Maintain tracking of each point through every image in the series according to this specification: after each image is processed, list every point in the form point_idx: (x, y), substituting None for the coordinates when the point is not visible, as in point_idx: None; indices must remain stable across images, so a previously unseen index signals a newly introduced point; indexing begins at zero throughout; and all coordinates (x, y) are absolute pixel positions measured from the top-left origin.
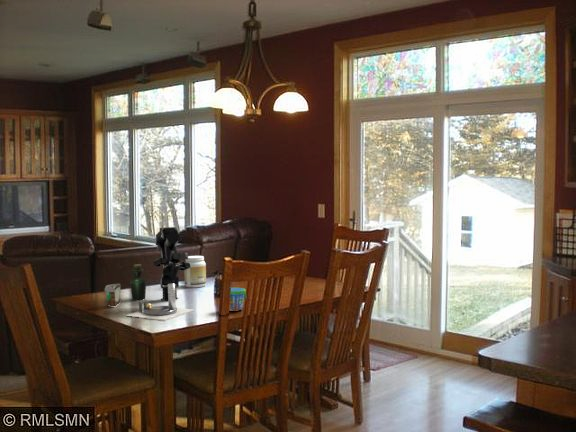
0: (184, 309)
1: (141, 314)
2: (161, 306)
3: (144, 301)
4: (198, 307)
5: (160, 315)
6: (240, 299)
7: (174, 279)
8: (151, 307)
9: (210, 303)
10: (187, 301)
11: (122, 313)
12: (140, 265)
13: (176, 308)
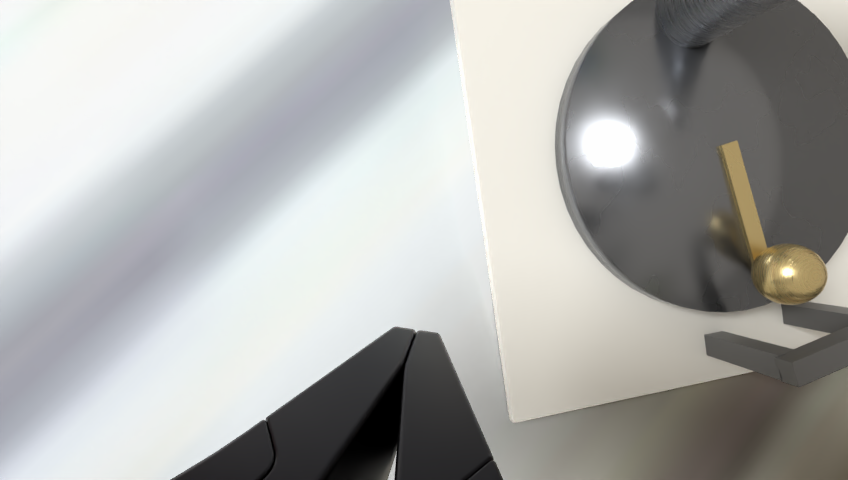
0: (489, 24)
1: None
2: (631, 232)
3: (831, 344)
4: (277, 5)
5: None
6: None
7: (415, 339)
8: (714, 288)
9: (9, 21)
10: (75, 360)
11: (844, 461)
12: None
13: (623, 13)
